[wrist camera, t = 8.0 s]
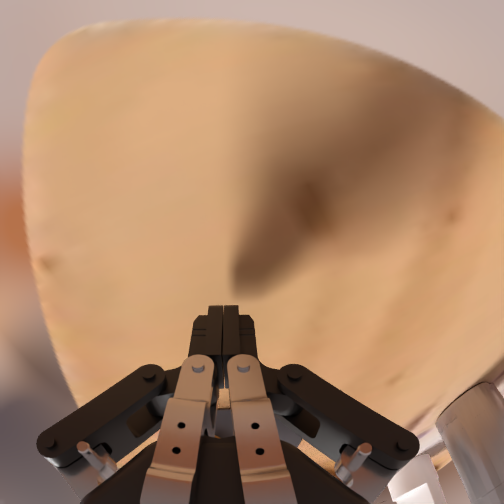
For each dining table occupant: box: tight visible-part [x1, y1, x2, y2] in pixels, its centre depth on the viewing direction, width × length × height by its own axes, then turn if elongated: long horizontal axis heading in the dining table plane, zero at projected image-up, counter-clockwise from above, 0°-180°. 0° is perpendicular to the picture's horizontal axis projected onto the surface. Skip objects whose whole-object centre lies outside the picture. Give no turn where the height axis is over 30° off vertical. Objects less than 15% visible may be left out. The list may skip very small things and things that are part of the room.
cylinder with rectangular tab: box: [388, 454, 447, 504], centre depth 29 cm, size 9×9×12 cm
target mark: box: [215, 409, 302, 447], centre depth 23 cm, size 13×13×1 cm
